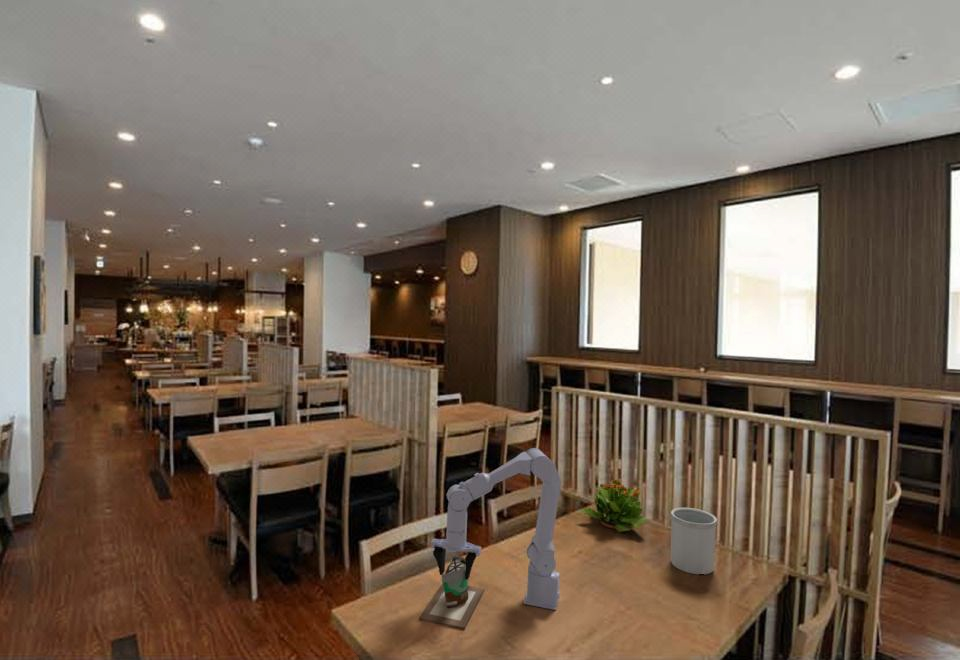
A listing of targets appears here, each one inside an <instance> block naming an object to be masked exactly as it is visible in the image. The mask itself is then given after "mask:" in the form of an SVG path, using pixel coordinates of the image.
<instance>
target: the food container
mask: <svg viewBox="0 0 960 660" xmlns="http://www.w3.org/2000/svg"><path fill="white" fill-rule="evenodd" d="M465 573H466V562H465V557H462V556H459V555H452V561H451V562H450V564H449V565H447V567H446V569H445V571H444V573H443V574H442V575H441V582H442V583H443V586H444V592H445V598H446V605H447V608H453V607H457V606H460V605H462V604H464V603H465V602H466V601H467V600H468V586H469V585H468V584H469V582H468V581H469V579H468V580H465Z"/></svg>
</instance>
